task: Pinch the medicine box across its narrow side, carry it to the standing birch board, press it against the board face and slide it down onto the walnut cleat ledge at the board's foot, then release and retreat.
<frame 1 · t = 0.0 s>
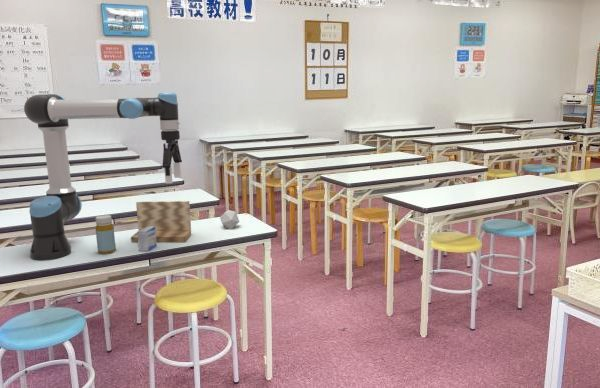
hand: (173, 180, 217), 28 cm above the table, fingers open, 13 cm apart
bottle: (107, 252, 213), on the table
cleat board: (163, 237, 232), on the table
medicine box: (147, 248, 216), on the table
die: (230, 227, 247), on the table
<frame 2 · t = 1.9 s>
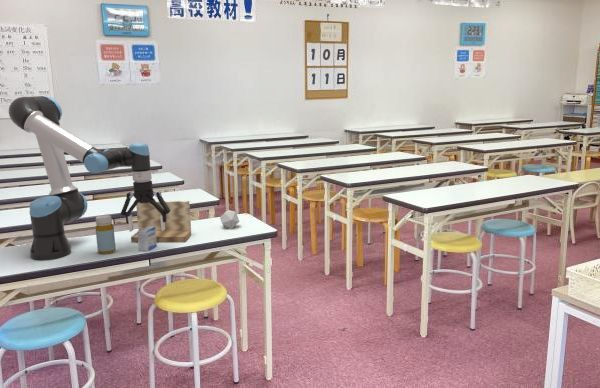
hand: (147, 230, 215), 8 cm above the table, fingers open, 13 cm apart
nothing on the table moved.
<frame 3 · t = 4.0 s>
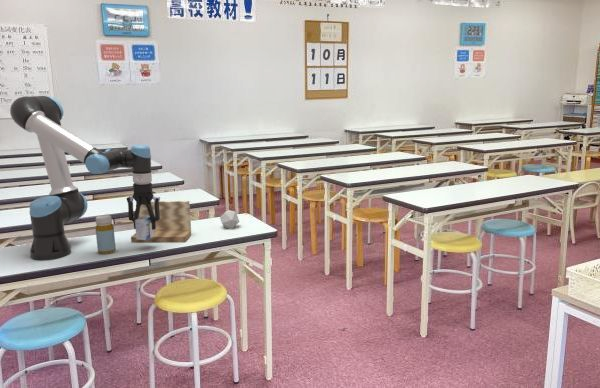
hand: (145, 236, 215), 5 cm above the table, fingers closed on medicine box, 5 cm apart
medicine box: (145, 237, 216), point 5 cm above the table, touching gripper
everything else where it was.
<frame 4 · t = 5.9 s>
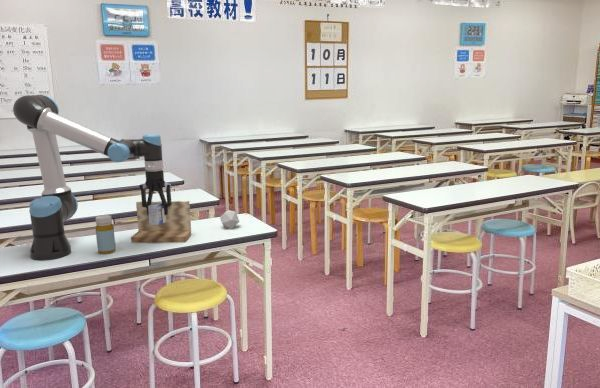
hand: (158, 222, 225), 9 cm above the table, fingers closed on medicine box, 5 cm apart
medicine box: (158, 223, 225), point 8 cm above the table, touching gripper
everything else where it was.
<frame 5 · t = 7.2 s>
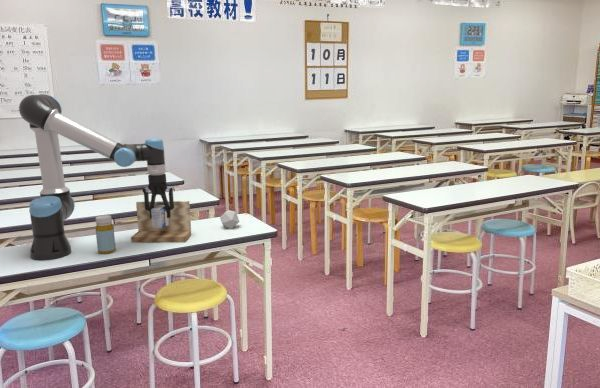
hand: (161, 224, 228), 7 cm above the table, fingers closed on medicine box, 5 cm apart
medicine box: (161, 226, 228), point 6 cm above the table, touching gripper
everything else where it was.
when the fingers open (4 cm above the table, at t = 7.9 s): medicine box drops 1 cm, resting on cleat board.
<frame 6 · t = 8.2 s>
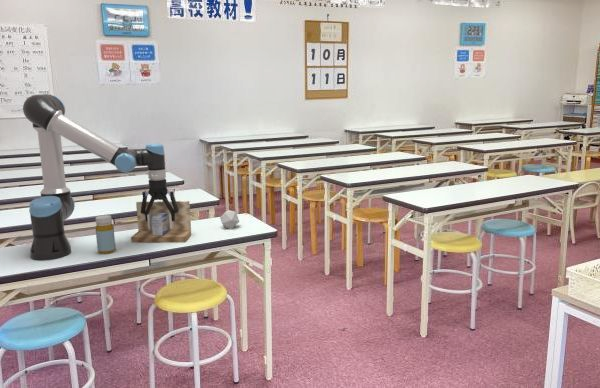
hand: (161, 228, 229), 5 cm above the table, fingers open, 9 cm apart
medicine box: (160, 234, 229), point 2 cm above the table, touching cleat board
everything else where it was.
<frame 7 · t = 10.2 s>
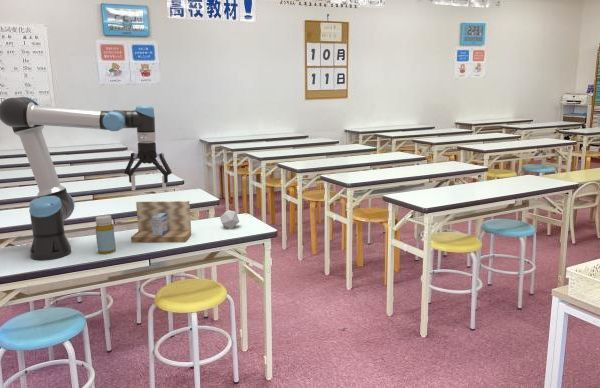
hand: (149, 190, 224), 23 cm above the table, fingers open, 13 cm apart
nothing on the table moved.
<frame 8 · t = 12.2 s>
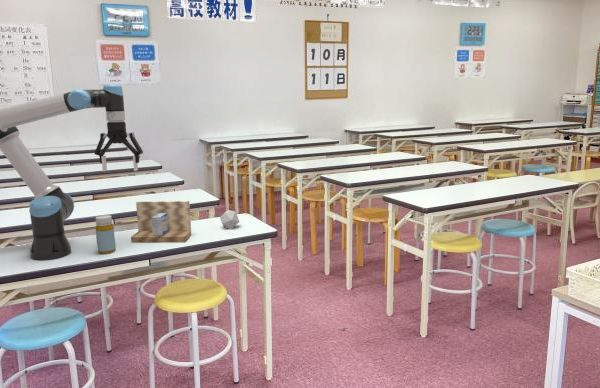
hand: (120, 170, 221), 32 cm above the table, fingers open, 13 cm apart
nothing on the table moved.
at the end: medicine box inside the target area on the cleat board (0.5 cm from its centre), point 2.3 cm above the cleat board's base; medicine box tilted 0°; the gripper is holding nothing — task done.
